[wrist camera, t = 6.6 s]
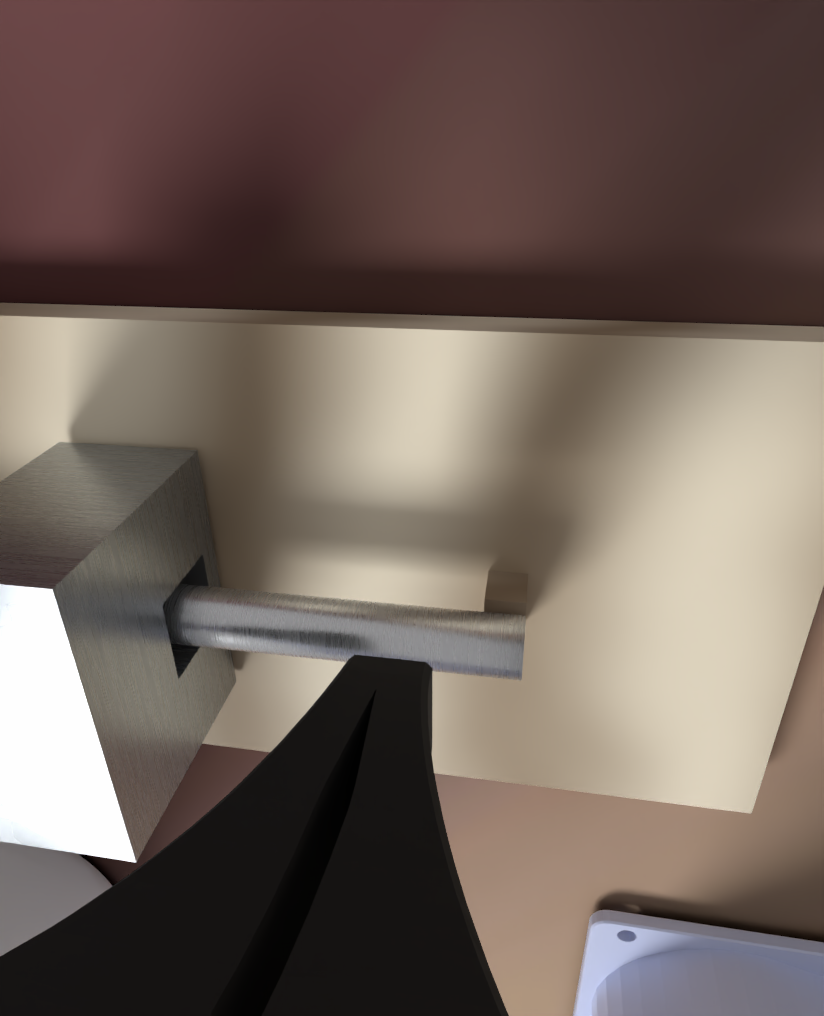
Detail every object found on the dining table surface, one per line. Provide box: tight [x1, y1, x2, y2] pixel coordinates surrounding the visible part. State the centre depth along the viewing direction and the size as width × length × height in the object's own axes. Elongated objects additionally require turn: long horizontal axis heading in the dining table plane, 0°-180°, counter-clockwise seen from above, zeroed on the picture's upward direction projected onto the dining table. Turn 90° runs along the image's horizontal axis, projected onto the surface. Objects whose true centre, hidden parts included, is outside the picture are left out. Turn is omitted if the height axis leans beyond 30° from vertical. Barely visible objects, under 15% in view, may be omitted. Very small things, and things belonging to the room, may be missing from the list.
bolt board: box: [0, 303, 824, 813], centre depth 14 cm, size 23×11×6 cm, turn 91°
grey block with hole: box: [0, 442, 237, 862], centre depth 14 cm, size 3×6×5 cm, turn 1°
